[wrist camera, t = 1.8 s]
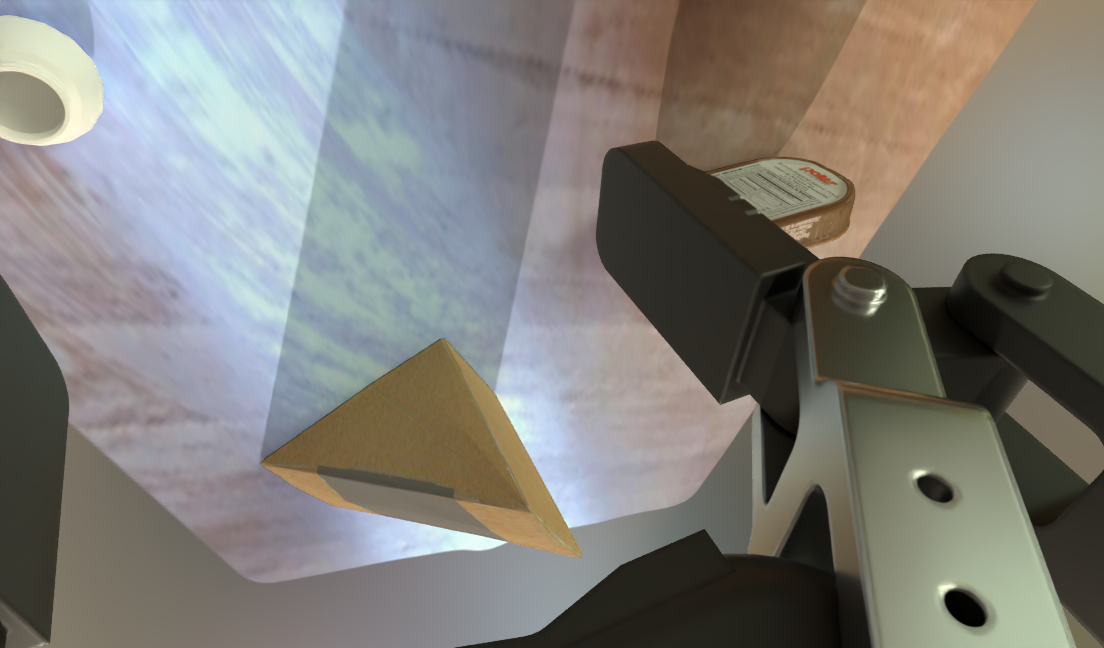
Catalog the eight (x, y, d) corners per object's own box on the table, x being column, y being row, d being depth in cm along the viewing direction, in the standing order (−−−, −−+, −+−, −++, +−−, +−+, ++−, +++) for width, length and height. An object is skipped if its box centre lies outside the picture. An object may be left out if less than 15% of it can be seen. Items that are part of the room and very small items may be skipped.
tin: (618, 225, 46) (686, 295, 41) (621, 184, 44) (693, 253, 38) (791, 177, 51) (874, 234, 45) (801, 138, 49) (889, 193, 43)
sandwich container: (254, 462, 45) (290, 675, 35) (442, 334, 45) (531, 509, 35) (332, 507, 52) (382, 698, 42) (496, 395, 52) (585, 558, 42)
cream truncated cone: (126, 65, 28) (-20, -17, 25) (126, 91, 26) (-32, 6, 23) (69, 157, 29) (-77, 92, 26) (65, 189, 27) (-95, 122, 24)
